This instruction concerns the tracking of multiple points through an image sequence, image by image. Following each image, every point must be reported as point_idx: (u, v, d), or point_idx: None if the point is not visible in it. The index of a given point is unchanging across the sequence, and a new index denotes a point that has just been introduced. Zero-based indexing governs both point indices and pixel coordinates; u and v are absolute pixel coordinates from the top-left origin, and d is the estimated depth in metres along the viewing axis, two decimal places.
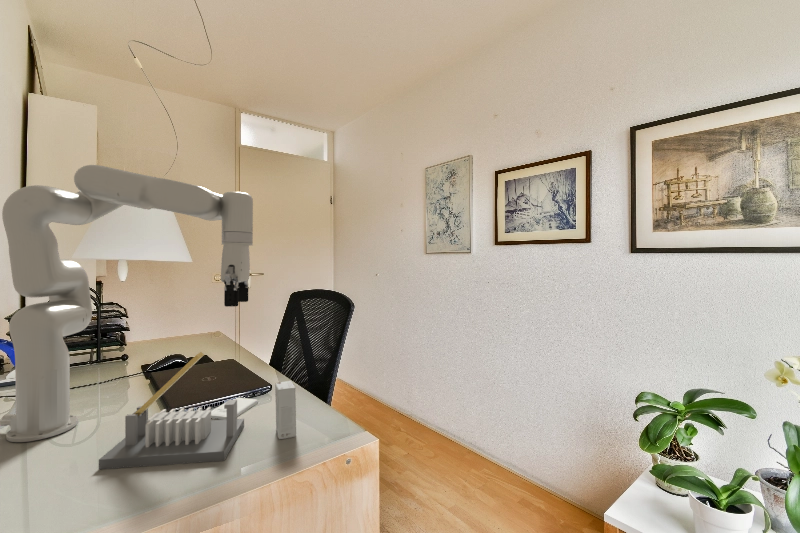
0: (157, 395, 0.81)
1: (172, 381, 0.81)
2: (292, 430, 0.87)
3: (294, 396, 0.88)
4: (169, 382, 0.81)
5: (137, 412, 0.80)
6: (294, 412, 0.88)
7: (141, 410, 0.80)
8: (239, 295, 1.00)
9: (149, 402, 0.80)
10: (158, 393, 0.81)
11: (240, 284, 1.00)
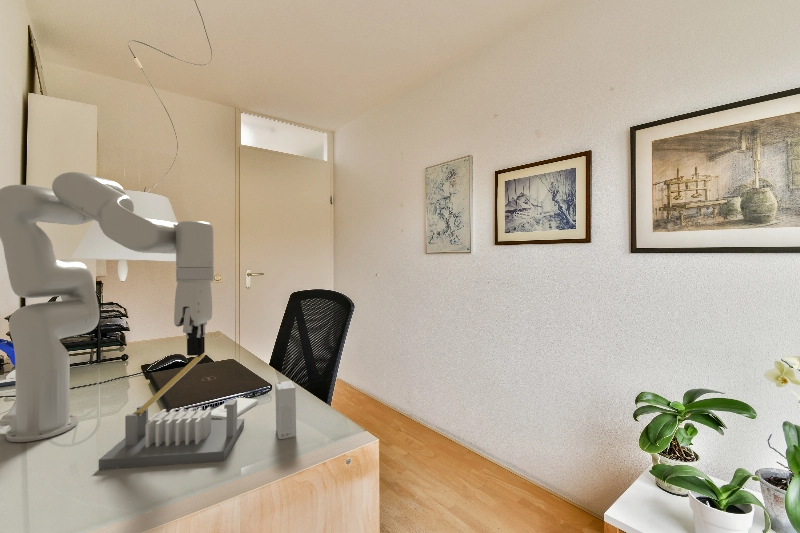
0: (157, 395, 0.81)
1: (173, 382, 0.81)
2: (292, 430, 0.87)
3: (294, 396, 0.88)
4: (170, 382, 0.81)
5: (137, 412, 0.80)
6: (294, 412, 0.88)
7: (141, 410, 0.80)
8: None
9: (149, 403, 0.80)
10: (158, 393, 0.81)
11: None
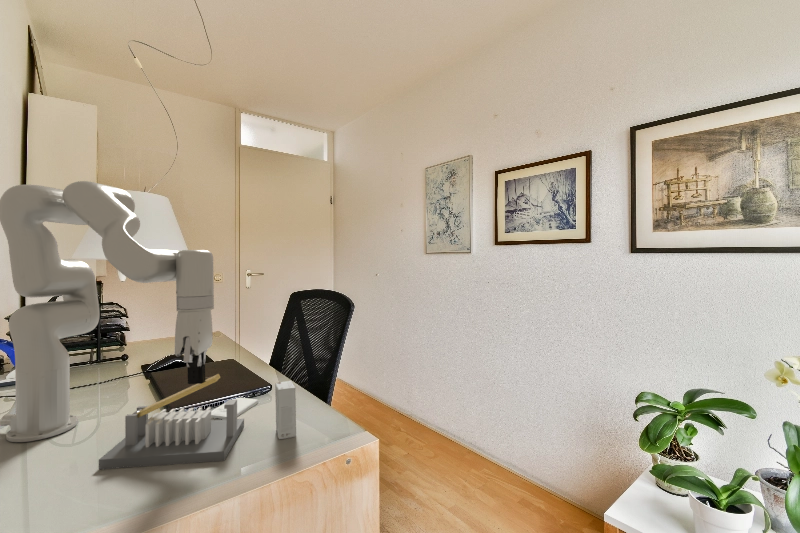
0: (164, 404, 0.81)
1: (183, 395, 0.82)
2: (292, 430, 0.87)
3: (294, 396, 0.88)
4: (179, 395, 0.81)
5: (139, 414, 0.80)
6: (294, 412, 0.88)
7: (143, 413, 0.80)
8: None
9: (153, 408, 0.81)
10: (165, 402, 0.81)
11: None
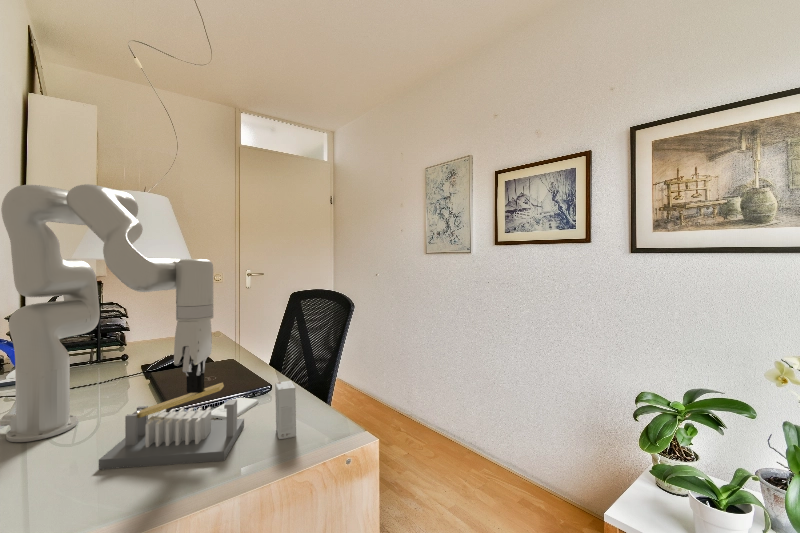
0: (165, 407, 0.81)
1: (185, 400, 0.82)
2: (292, 430, 0.87)
3: (294, 396, 0.88)
4: (182, 400, 0.82)
5: (139, 414, 0.80)
6: (294, 412, 0.88)
7: (144, 414, 0.80)
8: None
9: (154, 410, 0.81)
10: (167, 406, 0.81)
11: None
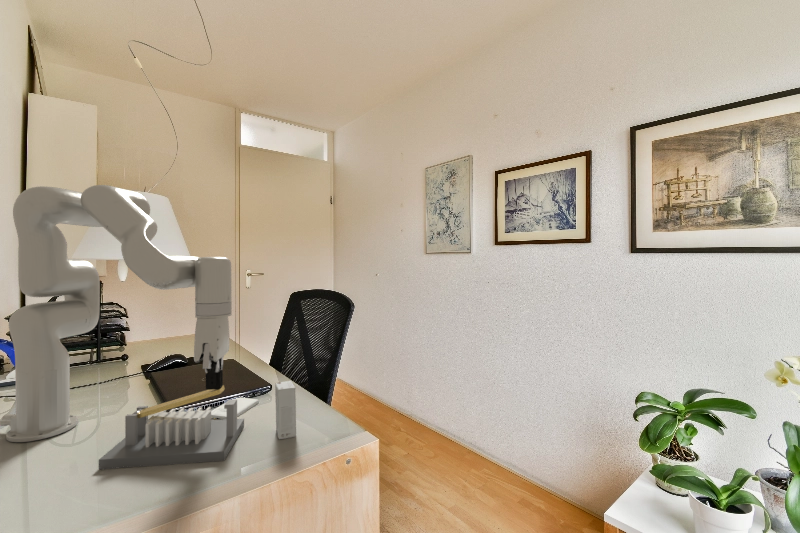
0: (165, 408, 0.81)
1: (185, 402, 0.82)
2: (292, 430, 0.87)
3: (294, 396, 0.88)
4: (182, 402, 0.82)
5: (139, 414, 0.80)
6: (294, 412, 0.88)
7: (144, 414, 0.80)
8: None
9: (154, 411, 0.81)
10: (167, 407, 0.81)
11: None
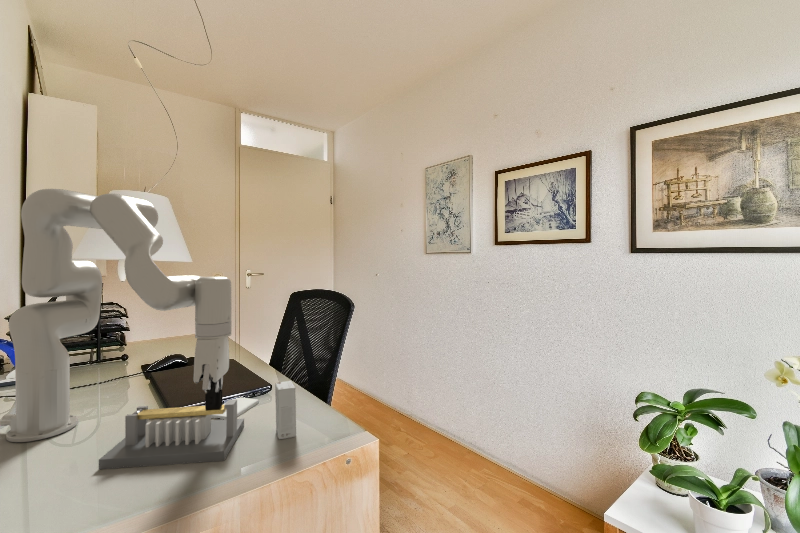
0: (166, 415, 0.81)
1: (187, 414, 0.82)
2: (292, 430, 0.87)
3: (294, 396, 0.88)
4: (184, 413, 0.82)
5: (140, 416, 0.80)
6: (294, 412, 0.88)
7: (144, 417, 0.80)
8: None
9: (155, 416, 0.81)
10: (168, 415, 0.81)
11: None
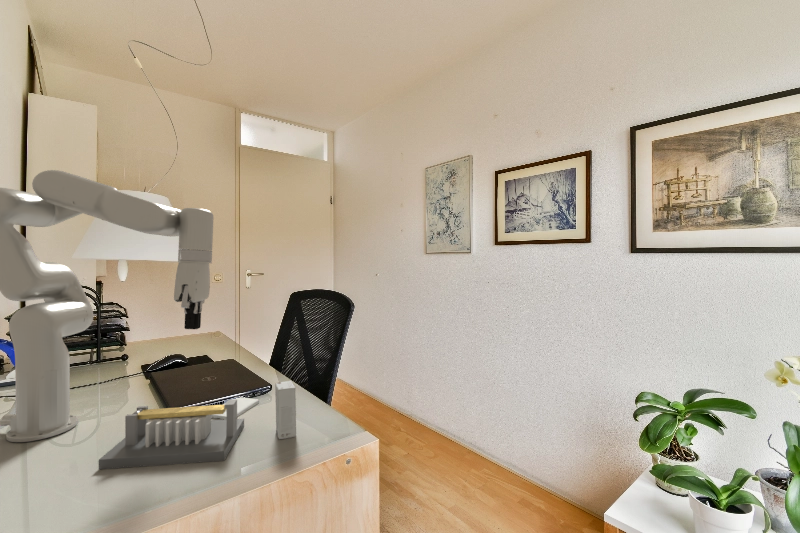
0: (166, 415, 0.81)
1: (187, 414, 0.82)
2: (292, 430, 0.87)
3: (294, 396, 0.88)
4: (184, 413, 0.82)
5: (140, 416, 0.80)
6: (294, 412, 0.88)
7: (144, 417, 0.80)
8: None
9: (155, 416, 0.81)
10: (168, 415, 0.81)
11: None
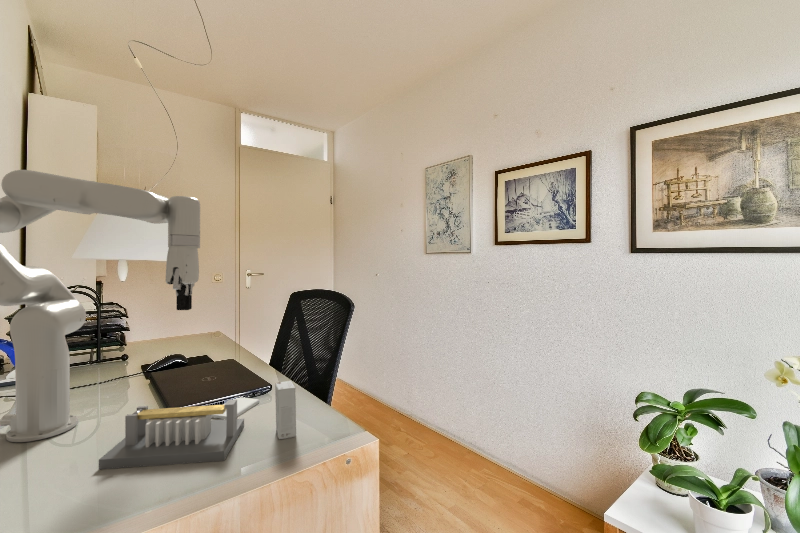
0: (166, 415, 0.81)
1: (187, 414, 0.82)
2: (292, 430, 0.87)
3: (294, 396, 0.88)
4: (184, 413, 0.82)
5: (140, 416, 0.80)
6: (294, 412, 0.88)
7: (144, 417, 0.80)
8: None
9: (155, 416, 0.81)
10: (168, 415, 0.81)
11: None
